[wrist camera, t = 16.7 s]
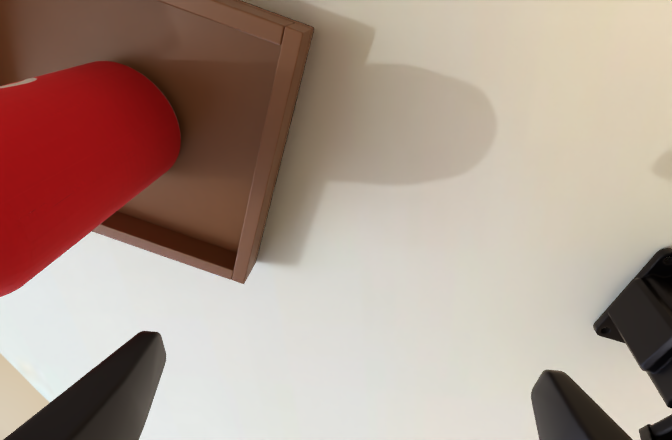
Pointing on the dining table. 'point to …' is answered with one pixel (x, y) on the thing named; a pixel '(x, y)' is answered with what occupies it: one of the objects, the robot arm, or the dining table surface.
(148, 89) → the beverage can
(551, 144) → the dining table surface
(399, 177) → the dining table surface
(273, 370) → the dining table surface
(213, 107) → the tray
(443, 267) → the dining table surface
